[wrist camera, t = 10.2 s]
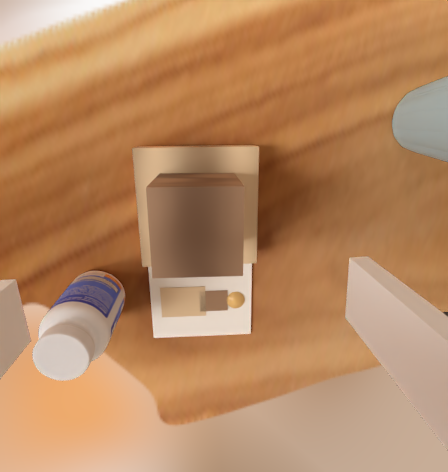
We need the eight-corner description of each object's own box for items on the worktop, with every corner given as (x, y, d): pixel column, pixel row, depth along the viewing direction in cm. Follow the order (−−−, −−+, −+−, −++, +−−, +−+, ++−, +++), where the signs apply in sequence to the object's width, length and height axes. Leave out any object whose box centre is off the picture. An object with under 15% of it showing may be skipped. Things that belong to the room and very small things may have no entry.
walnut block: (163, 244, 29) (152, 278, 22) (159, 173, 27) (146, 187, 21) (233, 242, 29) (243, 275, 23) (234, 172, 28) (244, 186, 21)
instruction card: (154, 336, 35) (153, 338, 35) (148, 264, 33) (147, 265, 32) (250, 332, 36) (250, 334, 35) (251, 261, 33) (252, 262, 33)
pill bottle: (61, 276, 33) (6, 334, 23) (116, 262, 33) (82, 316, 23) (82, 324, 34) (37, 396, 25) (134, 311, 34) (109, 379, 25)
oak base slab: (147, 254, 32) (142, 266, 30) (138, 146, 29) (131, 148, 27) (251, 251, 33) (256, 263, 30) (253, 144, 30) (259, 146, 27)
